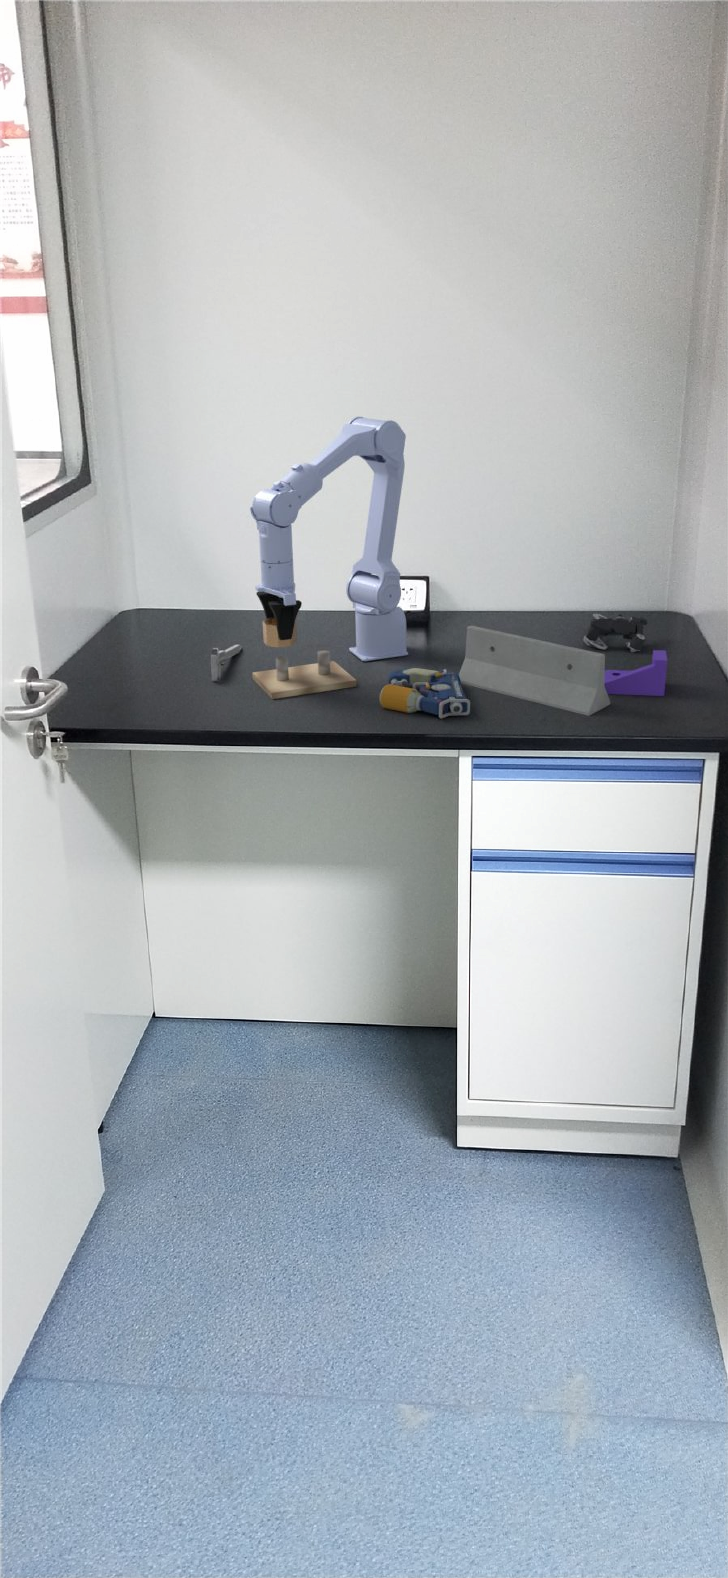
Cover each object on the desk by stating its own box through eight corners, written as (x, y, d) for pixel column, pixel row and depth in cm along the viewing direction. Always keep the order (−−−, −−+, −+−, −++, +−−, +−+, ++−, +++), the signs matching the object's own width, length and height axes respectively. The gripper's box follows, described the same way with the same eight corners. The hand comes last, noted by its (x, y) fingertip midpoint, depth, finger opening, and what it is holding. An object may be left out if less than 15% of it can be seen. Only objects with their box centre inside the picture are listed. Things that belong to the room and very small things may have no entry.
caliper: (217, 683, 217) (215, 651, 214) (211, 683, 217) (209, 650, 214) (242, 649, 235) (240, 619, 233) (236, 649, 235) (235, 619, 233)
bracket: (661, 684, 211) (665, 647, 209) (663, 697, 205) (667, 660, 202) (594, 681, 213) (596, 645, 211) (593, 695, 207) (596, 657, 204)
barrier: (610, 705, 202) (614, 649, 198) (588, 717, 197) (592, 660, 193) (479, 673, 219) (480, 621, 215) (456, 683, 214) (457, 630, 210)
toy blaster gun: (381, 723, 196) (470, 722, 197) (381, 699, 195) (471, 698, 195) (376, 685, 215) (457, 684, 216) (376, 662, 214) (458, 662, 214)
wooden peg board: (333, 666, 223) (332, 640, 221) (356, 686, 213) (355, 658, 211) (252, 678, 218) (250, 651, 216) (272, 699, 208) (270, 671, 206)
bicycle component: (591, 618, 242) (574, 642, 229) (606, 588, 238) (589, 610, 225) (644, 644, 240) (629, 670, 227) (660, 614, 236) (646, 639, 224)
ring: (290, 636, 216) (289, 615, 215) (299, 644, 211) (299, 623, 210) (261, 639, 214) (259, 618, 213) (269, 648, 210) (268, 627, 208)
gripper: (243, 553, 212) (248, 626, 217) (266, 571, 199) (270, 648, 205) (281, 549, 214) (284, 621, 219) (306, 567, 201) (309, 643, 207)
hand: (280, 634), depth 212 cm, fingers closed on ring, 6 cm apart
